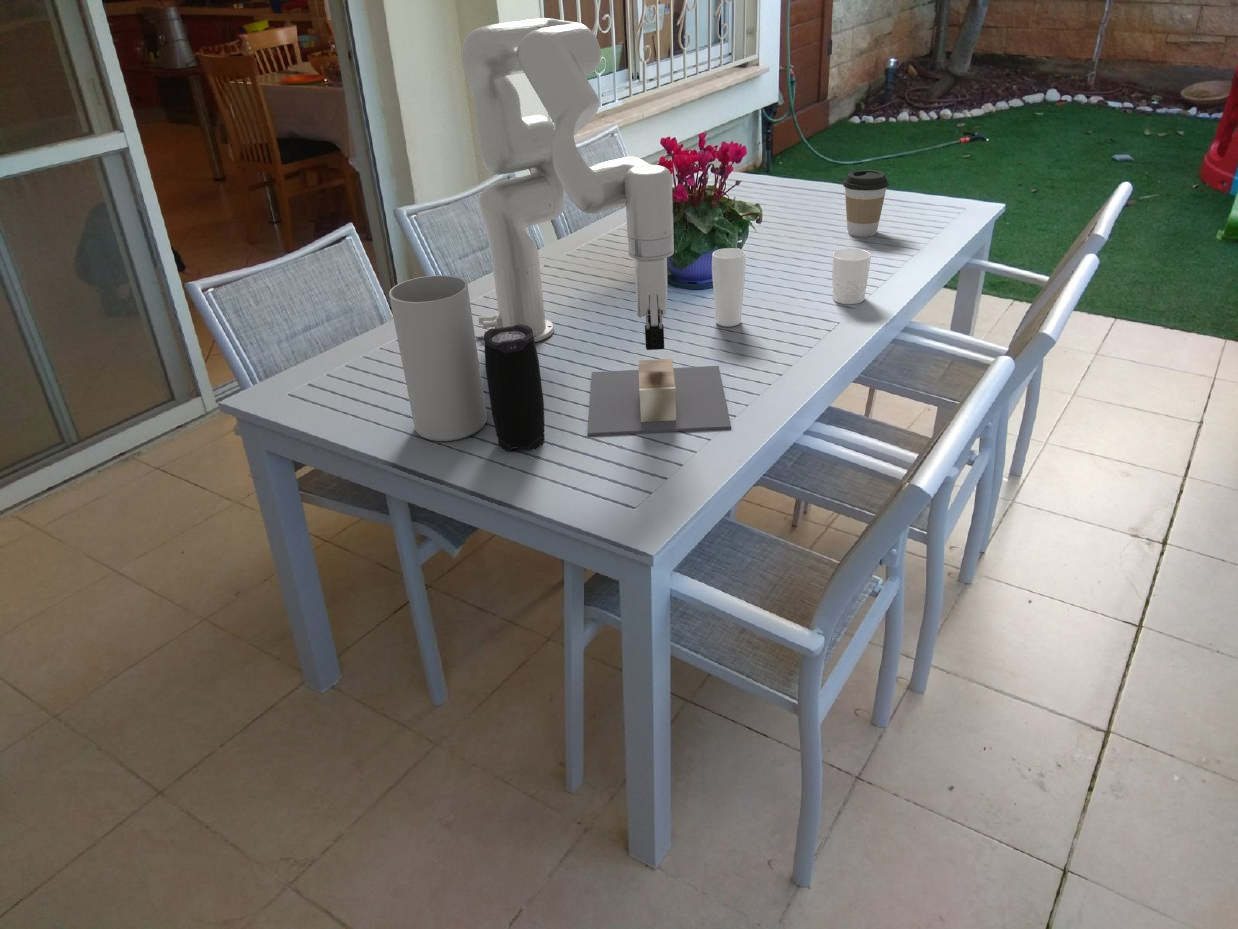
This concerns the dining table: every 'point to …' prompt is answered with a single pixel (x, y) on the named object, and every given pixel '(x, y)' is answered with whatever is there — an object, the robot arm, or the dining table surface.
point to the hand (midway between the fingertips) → (655, 347)
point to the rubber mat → (621, 402)
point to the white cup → (850, 275)
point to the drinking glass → (728, 285)
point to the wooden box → (657, 390)
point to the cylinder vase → (439, 356)
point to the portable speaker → (515, 387)
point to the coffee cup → (864, 201)
